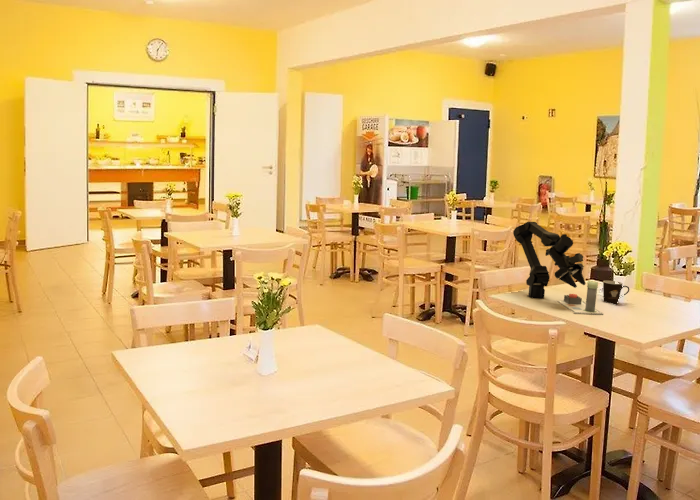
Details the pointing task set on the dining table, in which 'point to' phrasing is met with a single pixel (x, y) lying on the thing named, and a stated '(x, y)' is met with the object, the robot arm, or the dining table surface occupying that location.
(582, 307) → the colouring board
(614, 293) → the coffee mug
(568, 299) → the button housing
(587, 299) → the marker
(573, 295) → the button
